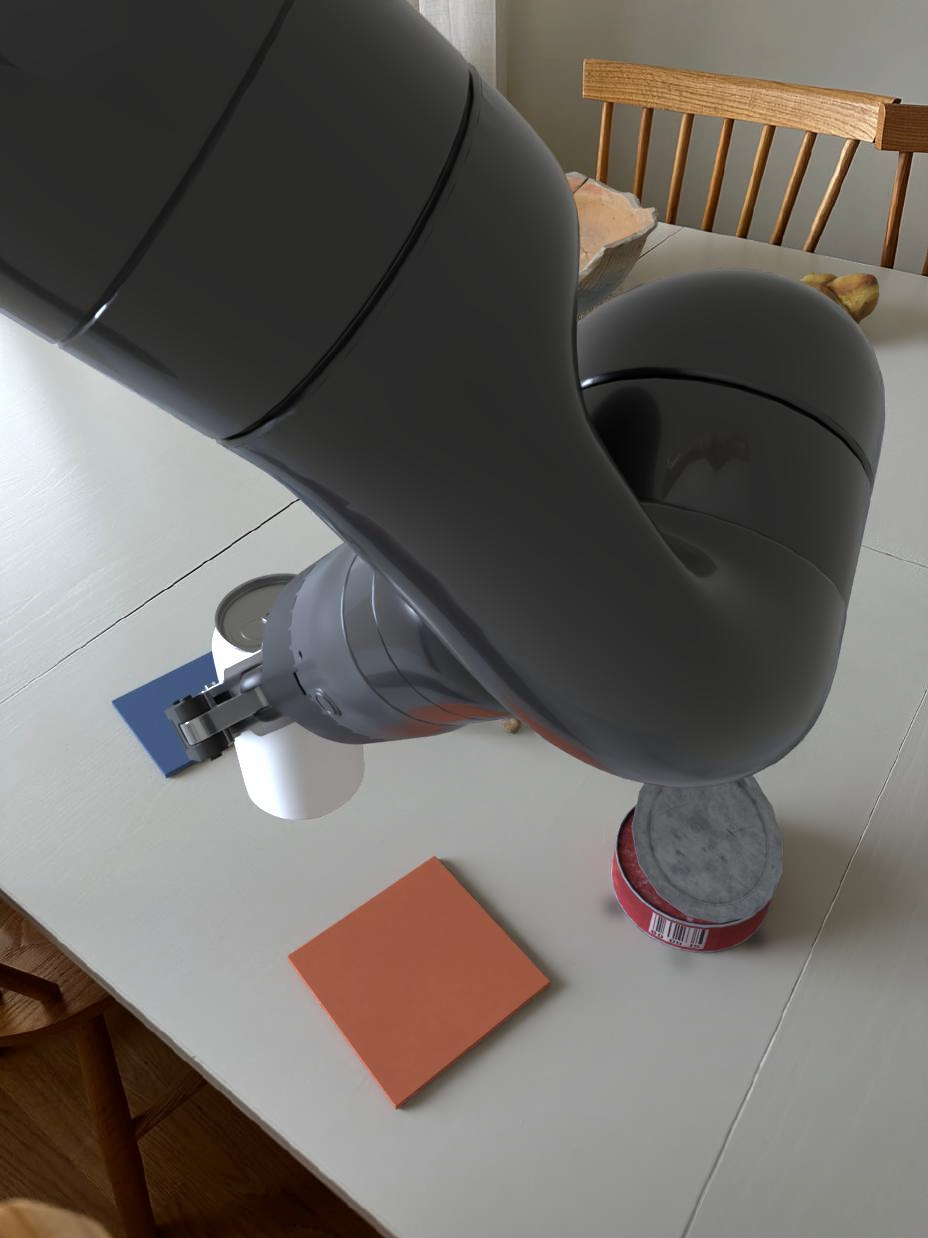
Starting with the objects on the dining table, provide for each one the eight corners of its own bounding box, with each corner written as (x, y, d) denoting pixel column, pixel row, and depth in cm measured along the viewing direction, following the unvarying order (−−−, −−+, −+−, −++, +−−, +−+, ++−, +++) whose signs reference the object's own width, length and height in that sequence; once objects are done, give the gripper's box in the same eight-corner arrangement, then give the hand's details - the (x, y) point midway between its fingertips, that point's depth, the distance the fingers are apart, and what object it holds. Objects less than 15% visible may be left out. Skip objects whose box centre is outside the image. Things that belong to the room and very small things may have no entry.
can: (221, 781, 53) (175, 616, 45) (310, 713, 56) (282, 549, 48) (301, 847, 50) (268, 682, 42) (390, 770, 53) (375, 606, 45)
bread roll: (775, 362, 110) (790, 294, 105) (734, 325, 117) (746, 259, 112) (874, 346, 113) (894, 278, 108) (828, 310, 120) (844, 245, 115)
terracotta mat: (396, 1110, 52) (396, 1107, 51) (287, 959, 58) (286, 956, 58) (550, 984, 57) (550, 981, 56) (434, 858, 63) (434, 855, 63)
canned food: (720, 867, 67) (817, 785, 62) (728, 997, 59) (841, 918, 54) (580, 796, 66) (667, 705, 60) (569, 921, 58) (668, 830, 52)
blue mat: (166, 778, 68) (165, 775, 68) (112, 704, 73) (111, 700, 73) (312, 697, 73) (312, 694, 73) (252, 634, 79) (252, 630, 78)
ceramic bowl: (357, 295, 120) (366, 165, 112) (496, 265, 138) (512, 150, 130) (550, 380, 106) (577, 238, 97) (677, 334, 124) (709, 211, 115)
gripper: (501, 469, 38) (358, 558, 53) (161, 627, 32) (106, 678, 46) (585, 641, 39) (420, 681, 53) (267, 831, 32) (179, 817, 47)
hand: (274, 680), depth 50 cm, fingers closed on can, 6 cm apart
